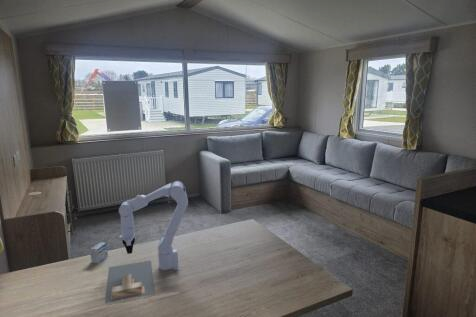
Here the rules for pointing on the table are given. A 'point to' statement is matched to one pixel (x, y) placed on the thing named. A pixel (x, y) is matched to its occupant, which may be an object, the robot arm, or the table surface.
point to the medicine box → (98, 252)
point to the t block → (126, 287)
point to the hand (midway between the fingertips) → (129, 252)
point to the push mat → (138, 274)
